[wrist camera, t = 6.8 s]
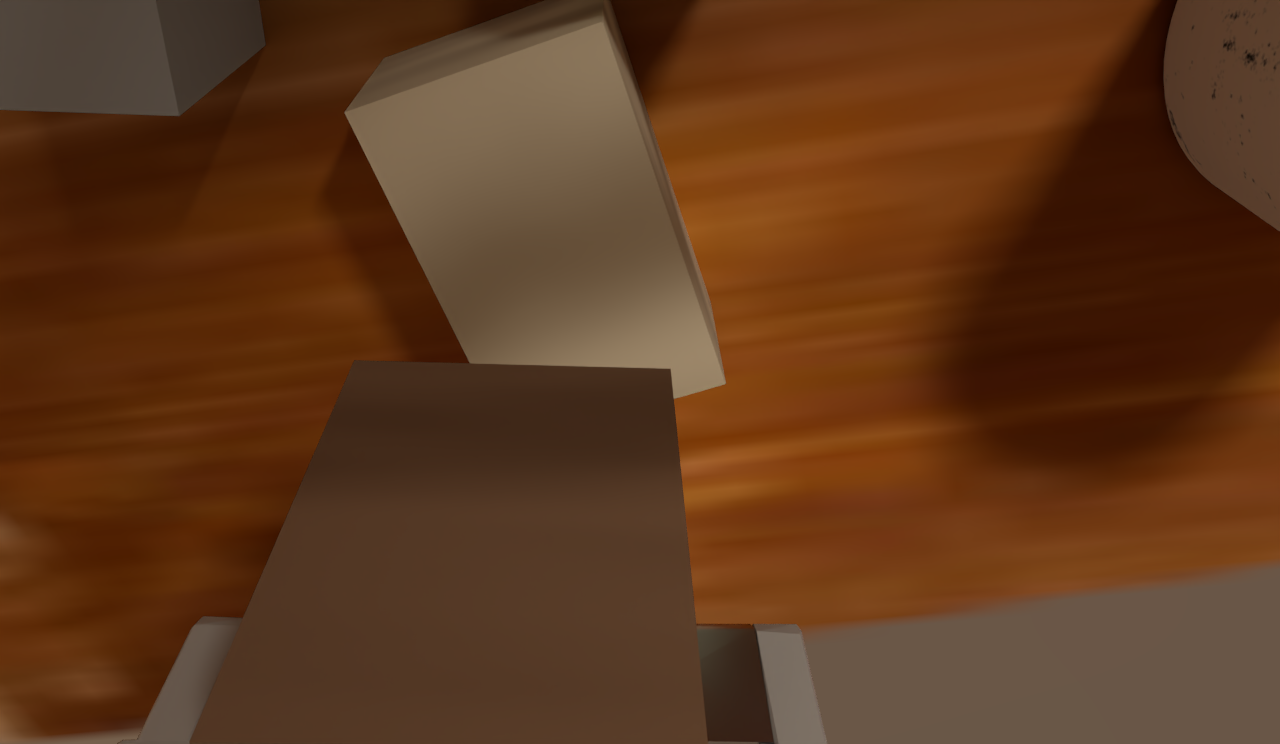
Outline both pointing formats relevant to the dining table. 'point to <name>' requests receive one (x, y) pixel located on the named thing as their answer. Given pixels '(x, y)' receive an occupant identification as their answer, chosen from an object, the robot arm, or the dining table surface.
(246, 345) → the dining table surface
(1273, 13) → the teacup with lid
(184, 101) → the grey block
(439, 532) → the walnut block
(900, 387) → the dining table surface
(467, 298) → the maple block
